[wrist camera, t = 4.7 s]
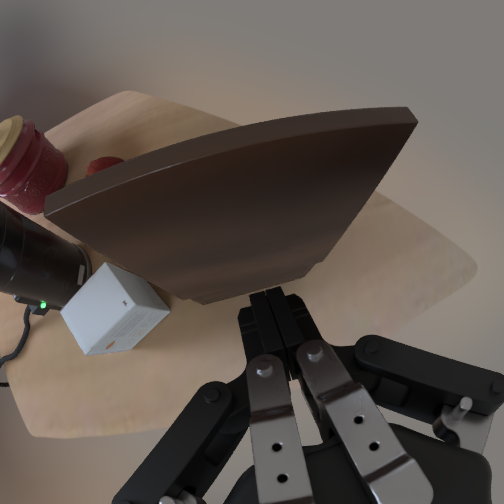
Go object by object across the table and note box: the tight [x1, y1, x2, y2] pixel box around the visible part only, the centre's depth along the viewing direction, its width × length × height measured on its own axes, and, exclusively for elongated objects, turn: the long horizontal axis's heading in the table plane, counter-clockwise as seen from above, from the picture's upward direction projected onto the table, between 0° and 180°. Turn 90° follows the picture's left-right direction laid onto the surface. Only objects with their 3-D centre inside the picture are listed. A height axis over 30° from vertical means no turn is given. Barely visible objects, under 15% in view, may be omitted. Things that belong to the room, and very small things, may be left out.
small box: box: [60, 262, 171, 356], centre depth 27 cm, size 8×6×10 cm
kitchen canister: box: [0, 116, 68, 215], centre depth 30 cm, size 13×13×18 cm
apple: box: [86, 157, 124, 177], centre depth 33 cm, size 7×8×8 cm
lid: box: [44, 107, 418, 300], centre depth 16 cm, size 18×13×1 cm
